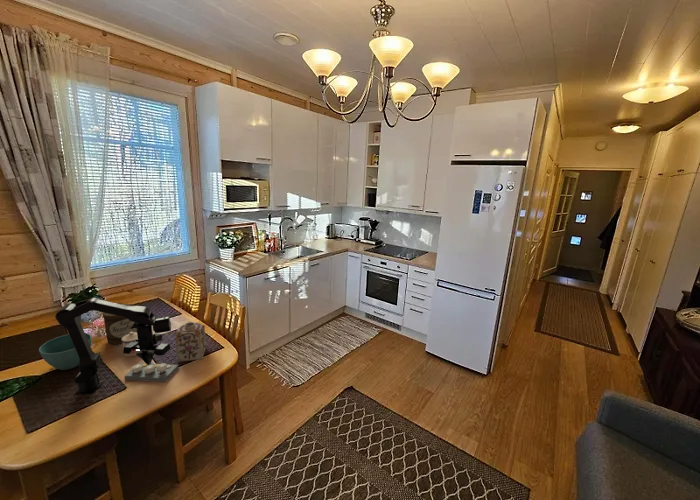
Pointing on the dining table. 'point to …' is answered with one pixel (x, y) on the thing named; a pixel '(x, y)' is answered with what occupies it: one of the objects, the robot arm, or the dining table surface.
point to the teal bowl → (61, 352)
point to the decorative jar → (190, 342)
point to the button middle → (149, 369)
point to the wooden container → (117, 327)
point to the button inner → (137, 368)
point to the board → (154, 376)
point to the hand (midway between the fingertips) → (149, 364)
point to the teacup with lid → (127, 339)
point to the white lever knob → (161, 368)
